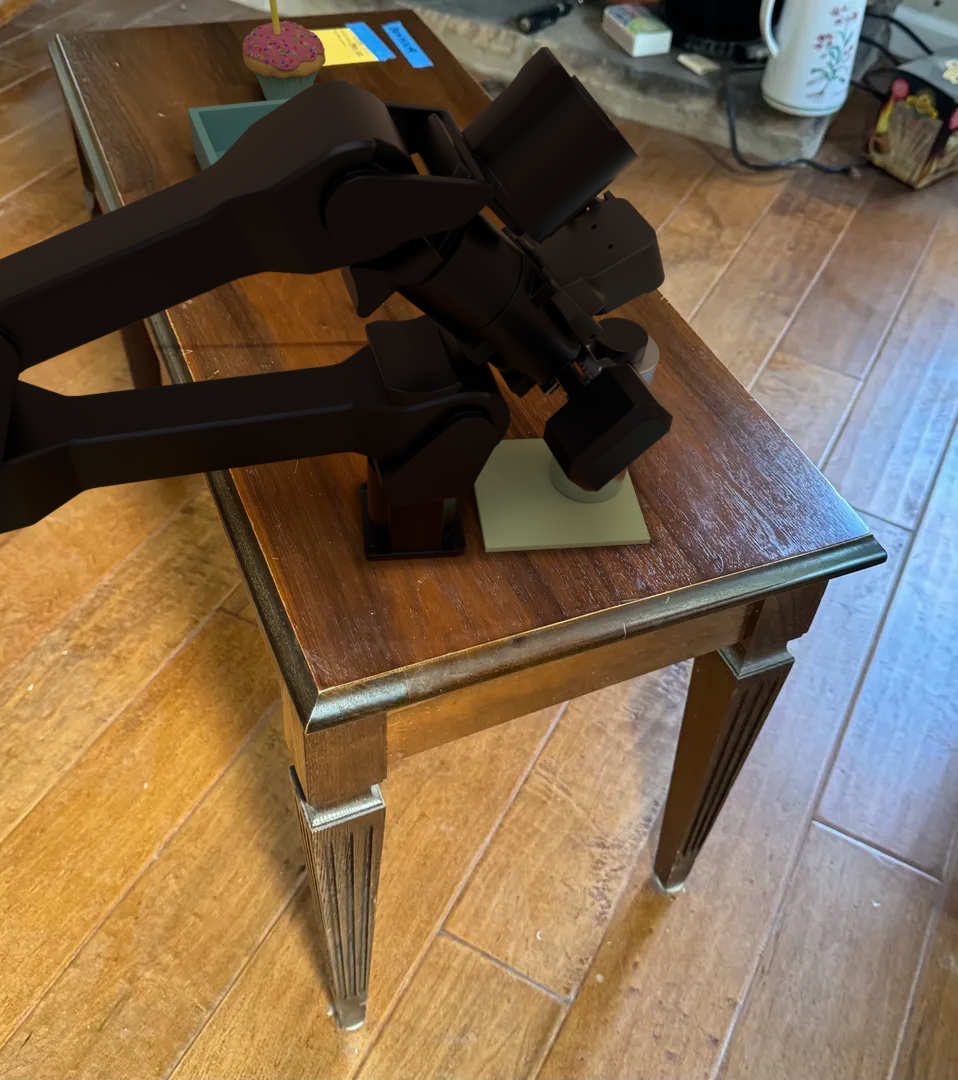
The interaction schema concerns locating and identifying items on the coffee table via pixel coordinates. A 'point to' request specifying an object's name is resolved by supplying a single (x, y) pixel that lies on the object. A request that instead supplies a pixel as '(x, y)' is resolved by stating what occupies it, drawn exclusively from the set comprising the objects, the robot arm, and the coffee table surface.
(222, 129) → the teal open box
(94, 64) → the coffee table surface
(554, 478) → the bottle
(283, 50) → the cupcake
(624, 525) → the placemat
